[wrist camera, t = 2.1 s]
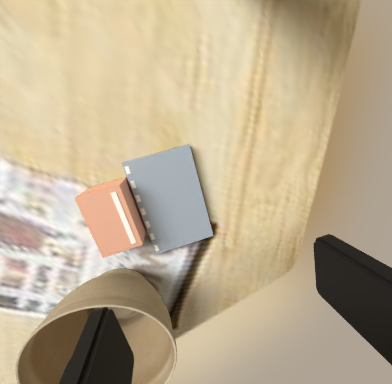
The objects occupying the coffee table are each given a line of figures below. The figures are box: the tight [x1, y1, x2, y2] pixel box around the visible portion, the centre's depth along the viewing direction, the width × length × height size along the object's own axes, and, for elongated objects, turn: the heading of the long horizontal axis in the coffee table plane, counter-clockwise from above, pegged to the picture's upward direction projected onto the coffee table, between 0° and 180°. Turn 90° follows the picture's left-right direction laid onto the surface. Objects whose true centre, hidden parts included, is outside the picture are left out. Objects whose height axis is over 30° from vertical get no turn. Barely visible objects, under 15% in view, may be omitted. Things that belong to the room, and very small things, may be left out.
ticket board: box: [122, 144, 213, 254], centre depth 28 cm, size 9×14×2 cm, turn 15°
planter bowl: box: [15, 269, 177, 384], centre depth 26 cm, size 16×16×11 cm
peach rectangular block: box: [75, 177, 146, 258], centre depth 25 cm, size 5×8×5 cm, turn 15°
